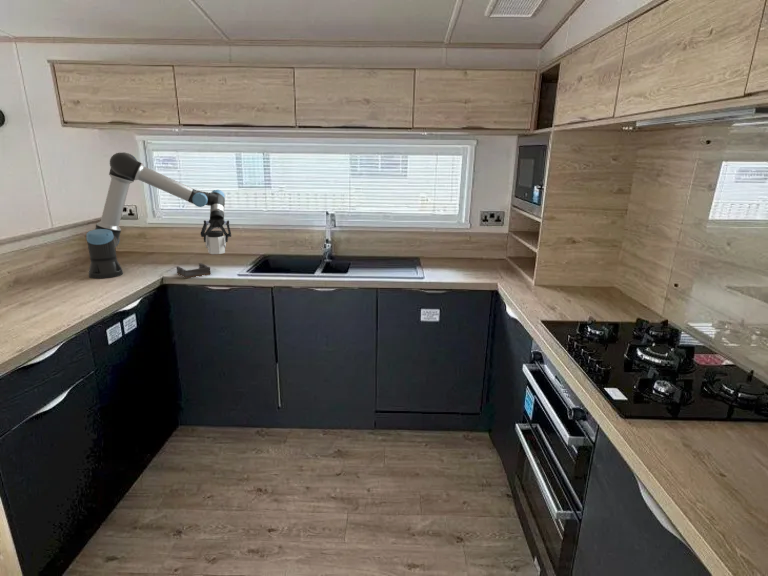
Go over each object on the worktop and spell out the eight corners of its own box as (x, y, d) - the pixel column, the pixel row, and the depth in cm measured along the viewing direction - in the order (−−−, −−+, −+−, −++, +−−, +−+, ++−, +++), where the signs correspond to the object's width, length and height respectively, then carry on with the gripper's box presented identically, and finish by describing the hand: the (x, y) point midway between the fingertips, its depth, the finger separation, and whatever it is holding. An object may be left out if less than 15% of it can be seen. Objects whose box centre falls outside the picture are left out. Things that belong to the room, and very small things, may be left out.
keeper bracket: (177, 273, 232) (176, 266, 231) (201, 270, 241) (200, 263, 240) (186, 278, 223) (185, 271, 222) (210, 274, 232) (210, 267, 231)
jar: (226, 253, 240) (225, 232, 237) (212, 255, 235) (210, 233, 232) (221, 250, 246) (219, 229, 243) (206, 252, 241) (204, 230, 238)
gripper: (237, 217, 253) (236, 249, 242) (198, 217, 248) (196, 250, 237) (236, 209, 246) (235, 242, 236) (195, 209, 241) (193, 242, 231)
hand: (215, 246), depth 236 cm, fingers closed on jar, 9 cm apart
